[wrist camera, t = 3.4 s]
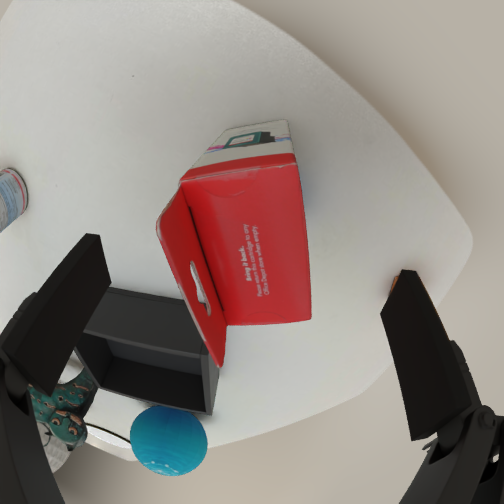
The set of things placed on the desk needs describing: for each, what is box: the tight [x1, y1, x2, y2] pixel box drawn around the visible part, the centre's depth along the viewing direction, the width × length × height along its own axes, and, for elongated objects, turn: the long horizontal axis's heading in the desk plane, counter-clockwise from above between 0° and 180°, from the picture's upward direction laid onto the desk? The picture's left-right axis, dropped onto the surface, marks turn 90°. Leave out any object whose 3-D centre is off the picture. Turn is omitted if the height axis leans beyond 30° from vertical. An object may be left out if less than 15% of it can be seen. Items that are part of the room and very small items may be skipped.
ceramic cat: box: [27, 368, 98, 452], centre depth 36 cm, size 20×6×20 cm, turn 75°
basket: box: [74, 287, 219, 415], centre depth 33 cm, size 18×16×7 cm
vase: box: [37, 422, 71, 473], centre depth 45 cm, size 13×13×28 cm
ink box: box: [156, 120, 312, 368], centre depth 16 cm, size 8×5×15 cm, turn 11°
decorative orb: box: [130, 405, 208, 476], centre depth 44 cm, size 15×15×15 cm
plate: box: [86, 425, 132, 449], centre depth 78 cm, size 21×21×1 cm
